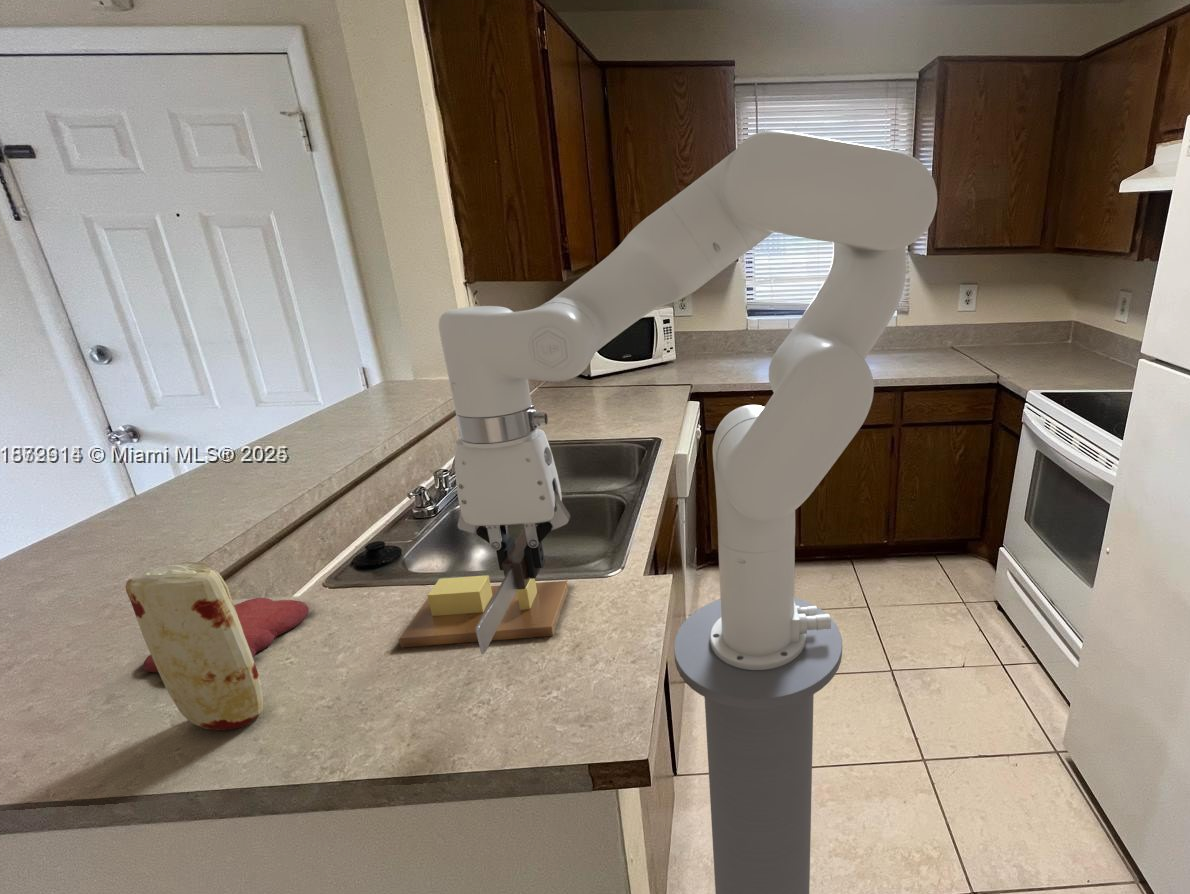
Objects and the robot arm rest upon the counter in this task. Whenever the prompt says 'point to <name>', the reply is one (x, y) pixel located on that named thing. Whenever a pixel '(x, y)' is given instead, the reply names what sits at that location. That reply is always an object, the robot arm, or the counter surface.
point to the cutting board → (463, 626)
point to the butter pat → (527, 595)
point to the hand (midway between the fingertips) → (523, 572)
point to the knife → (504, 592)
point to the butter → (460, 595)
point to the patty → (261, 622)
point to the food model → (198, 644)
